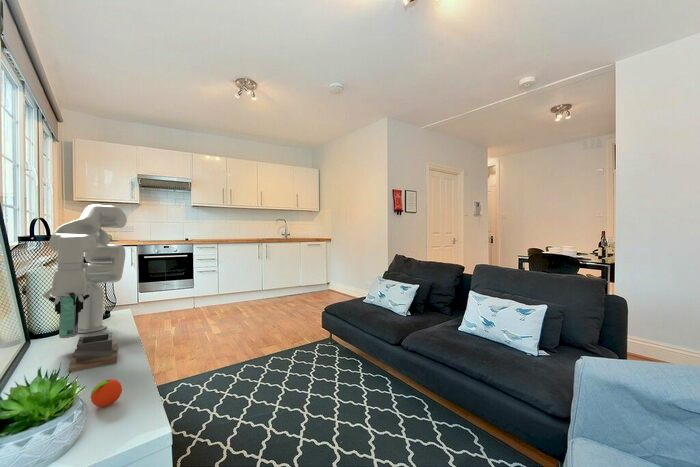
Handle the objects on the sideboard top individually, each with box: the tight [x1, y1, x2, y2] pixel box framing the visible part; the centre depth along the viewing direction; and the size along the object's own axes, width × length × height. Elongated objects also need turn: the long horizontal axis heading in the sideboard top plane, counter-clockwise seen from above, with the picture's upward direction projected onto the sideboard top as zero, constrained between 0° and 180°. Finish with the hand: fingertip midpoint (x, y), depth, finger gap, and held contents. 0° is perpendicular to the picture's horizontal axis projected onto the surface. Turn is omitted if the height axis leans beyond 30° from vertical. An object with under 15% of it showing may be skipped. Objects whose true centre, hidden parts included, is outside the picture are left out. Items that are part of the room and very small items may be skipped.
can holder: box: [67, 332, 118, 373], centre depth 115 cm, size 20×13×7 cm, turn 37°
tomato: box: [90, 378, 123, 408], centre depth 84 cm, size 8×7×7 cm
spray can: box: [58, 292, 79, 339], centre depth 120 cm, size 6×6×20 cm
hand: (69, 311), depth 120 cm, fingers closed on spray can, 5 cm apart
